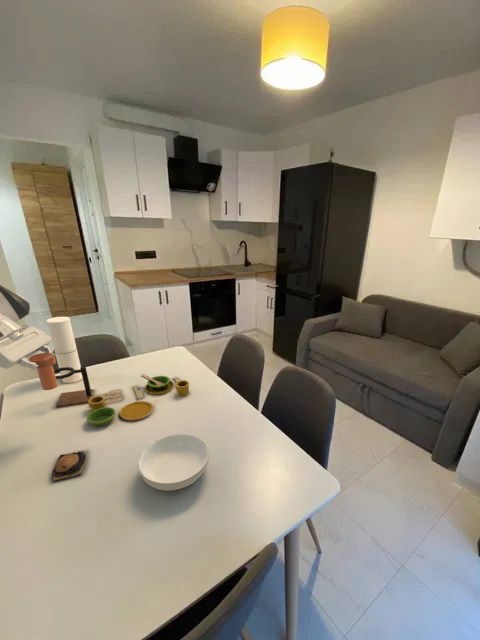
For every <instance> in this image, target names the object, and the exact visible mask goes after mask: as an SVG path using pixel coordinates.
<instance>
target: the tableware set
mask: <svg viewBox="0 0 480 640" xmlns="http://www.w3.org/2000/svg"><path fill="white" fill-rule="evenodd" d="M140 376H141V378H142V379H145V380H146V381H147V384H146V385H145V387H144V390H145V392H147V393H148V394H151V395H154V396H155V395H156V396H159V395H164V394H166V393H169V392H170V391H171V390H172V389H173V388H174V387H175V388H176V392H177V394H178V396H180V397H185V396H187V395H188V394H189V392H190V391H189V389H190V382H189V381H188V380H185V379H183V380H182V379H181V380H179V378H178V377H177V376H174V377H173V379H174V381H175V383H174V382H173V381H172V380H171V378H170V377H169V376H166V375H156V376H153V377H150V376H148V375H146V374H144V373H141V375H140ZM133 390H134V393H135V395H136V398H137V400H139V401H133V402H130V403H128V404H126V405H124V406H123V407H122V408H121V409H120V410H119V413H118V415H119V417H120V418H121V419H123V420H125V421H129V422H130V421H131V422H132V421H133V422H135V421H138V420H142V419H144V418H146V417H148V416H149V415H150V414H151V413H152V412H153V411H154V405H153V403H151V402H149V401H145V400H142V399H143V398H144V394H143V392H142V391H141V390H139V389H138V386H137V385H134V386H133ZM122 399H123V398H122V396H121V390H118V389H116V390H111V391H110V392H108V393H103V394H99V395H94V396H92V397H91V398H90V399H89V400H88V403H87V404H88V405H89V407H90V409H91V411H90V412H89V413H88V414H87V416H86V421H87V422H88V423H89V424H91V425H93V426H95V427H104V426H107V425H108V424H110V423H111V422H112V420H113V419H114V418H115V416H116V414H117V410H116V409H115V408H114V407H109V406H106V405H110V404H114V403H118V402H121V401H122ZM141 400H142V401H141Z"/></svg>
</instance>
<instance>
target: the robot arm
mask: <svg viewBox="0 0 480 640" xmlns="http://www.w3.org/2000/svg"><path fill="white" fill-rule="evenodd" d="M30 311H31V305H30V302H28V300H27V299H26V298H25V297H23V296H22V295H21V294H19V293H17V292H15V291H13V290H10V289H8V288H7V287H5V286H2V285H1V284H0V368H2V369H6V370H7V369H11V368H12V367H14V366H16V365H17V364H18V365H19V366H20V367H24V368H29V369H31V370H32V371H35V370H37V368H38V367H39V364H37V363H36V362H34V363H32V362H30V361H29V360H28V358H30V357H31V356H33V355H35V354H36V353H37V352H39V351H41V352H42V353H53V354H54V355H55V352H52V350H51V347H50V346H48V345H50V344H51V343H52V338H51V336H50V334H48V333H46V332H44V331H43V330H41V329H39V328H38V327H35V326H32V325H27V324H26V325H22V326H20V325H19V324H18V323H17V322H18V321H20V320H22V319H23V318H25V317H27V316H28V315H30ZM55 356H56V355H55Z"/></svg>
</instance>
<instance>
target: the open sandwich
mask: <svg viewBox="0 0 480 640" xmlns="http://www.w3.org/2000/svg"><path fill="white" fill-rule="evenodd" d="M86 457H87V454H86V451H84V450H82V451H77V452H72V453H67V454H60V455H59V457H58V458H57V462H56V464H55V467H54V468H53V470H52V475H53V476H52V481H53V482H55V481H60V480H64V479H69V478H73V477H76V476H80V475H82V474H83V471H84V468H85V465H86V463H85V462H86V459H87V458H86Z"/></svg>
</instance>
